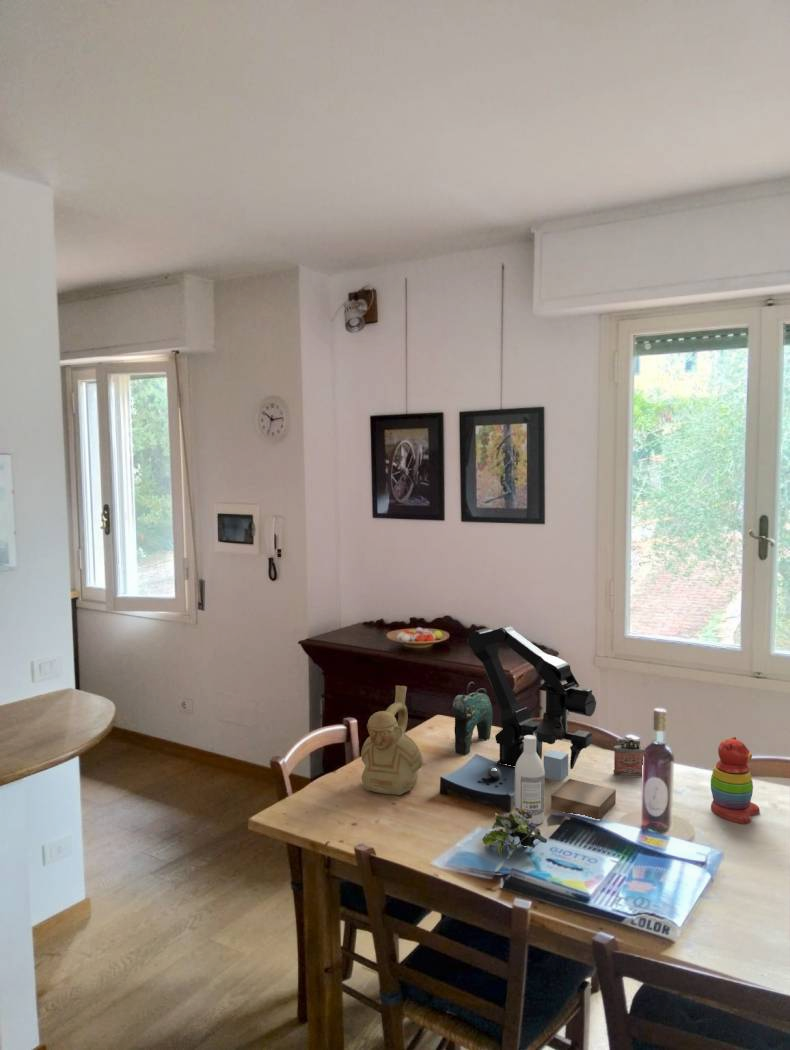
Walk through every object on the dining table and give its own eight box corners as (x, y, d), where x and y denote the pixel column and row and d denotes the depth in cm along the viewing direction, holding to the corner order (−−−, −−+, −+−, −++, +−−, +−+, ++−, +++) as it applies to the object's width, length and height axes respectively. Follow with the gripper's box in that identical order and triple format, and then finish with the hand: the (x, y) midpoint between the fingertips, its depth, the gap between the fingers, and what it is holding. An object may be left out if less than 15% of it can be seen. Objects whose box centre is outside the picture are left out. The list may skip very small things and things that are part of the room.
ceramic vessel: (346, 795, 197) (346, 699, 195) (377, 768, 215) (376, 679, 213) (409, 806, 191) (408, 706, 189) (435, 777, 209) (435, 686, 207)
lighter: (642, 772, 211) (643, 736, 211) (645, 777, 208) (646, 741, 207) (612, 771, 212) (613, 735, 211) (614, 776, 209) (615, 740, 208)
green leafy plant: (523, 871, 170) (556, 832, 168) (505, 885, 161) (540, 843, 158) (486, 831, 175) (518, 793, 173) (467, 842, 166) (500, 802, 163)
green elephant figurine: (466, 758, 223) (466, 689, 221) (446, 753, 226) (446, 686, 225) (496, 737, 239) (496, 674, 238) (477, 734, 243) (477, 671, 241)
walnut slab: (550, 811, 189) (551, 795, 188) (569, 793, 199) (569, 778, 198) (598, 823, 182) (599, 806, 182) (615, 805, 192) (615, 789, 192)
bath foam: (550, 822, 182) (551, 739, 180) (525, 828, 179) (526, 743, 177) (532, 810, 188) (533, 730, 186) (508, 816, 185) (509, 734, 183)
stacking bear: (746, 826, 179) (748, 751, 178) (702, 813, 186) (704, 740, 185) (761, 810, 187) (764, 739, 186) (719, 799, 194) (721, 729, 193)
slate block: (543, 777, 208) (543, 755, 208) (550, 771, 213) (551, 750, 212) (560, 781, 206) (561, 759, 205) (568, 775, 210) (568, 753, 209)
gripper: (511, 710, 206) (511, 767, 208) (578, 722, 196) (577, 782, 197) (529, 699, 216) (528, 754, 217) (594, 711, 205) (593, 768, 206)
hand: (555, 764), depth 209 cm, fingers open, 9 cm apart
